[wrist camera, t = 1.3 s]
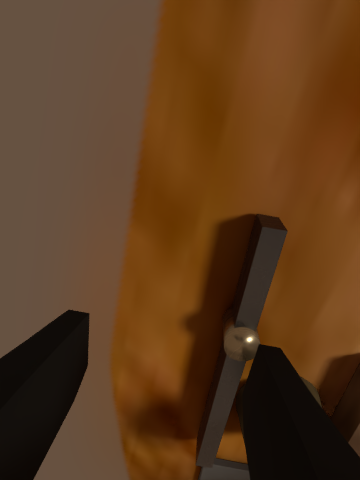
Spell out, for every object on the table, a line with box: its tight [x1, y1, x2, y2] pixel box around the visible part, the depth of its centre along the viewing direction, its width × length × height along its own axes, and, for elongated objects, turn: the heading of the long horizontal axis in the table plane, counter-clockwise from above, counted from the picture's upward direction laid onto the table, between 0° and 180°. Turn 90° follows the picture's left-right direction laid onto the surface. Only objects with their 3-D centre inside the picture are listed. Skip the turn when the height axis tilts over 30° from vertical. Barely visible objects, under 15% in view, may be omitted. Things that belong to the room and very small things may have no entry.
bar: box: [196, 214, 287, 468], centre depth 19 cm, size 19×2×2 cm, turn 171°
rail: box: [331, 364, 360, 457], centre depth 21 cm, size 12×1×2 cm, turn 171°
